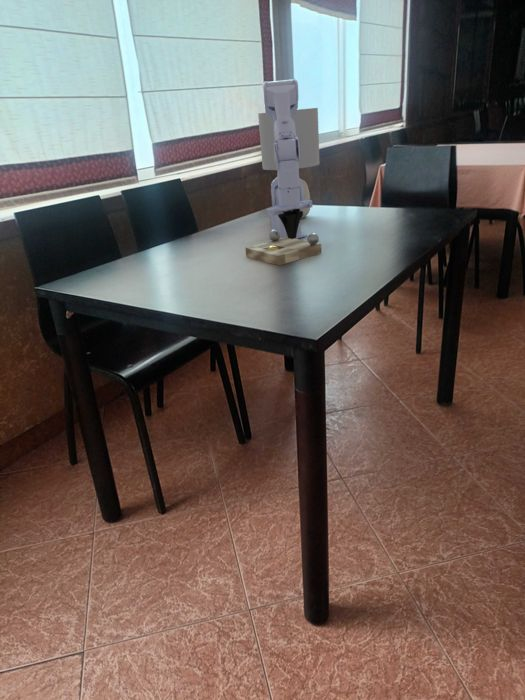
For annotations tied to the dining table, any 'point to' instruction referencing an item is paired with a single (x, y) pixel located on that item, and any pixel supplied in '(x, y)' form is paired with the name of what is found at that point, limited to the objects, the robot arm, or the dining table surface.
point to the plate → (283, 250)
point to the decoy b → (312, 238)
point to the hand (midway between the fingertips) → (292, 238)
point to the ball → (273, 248)
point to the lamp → (306, 136)
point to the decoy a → (274, 235)
